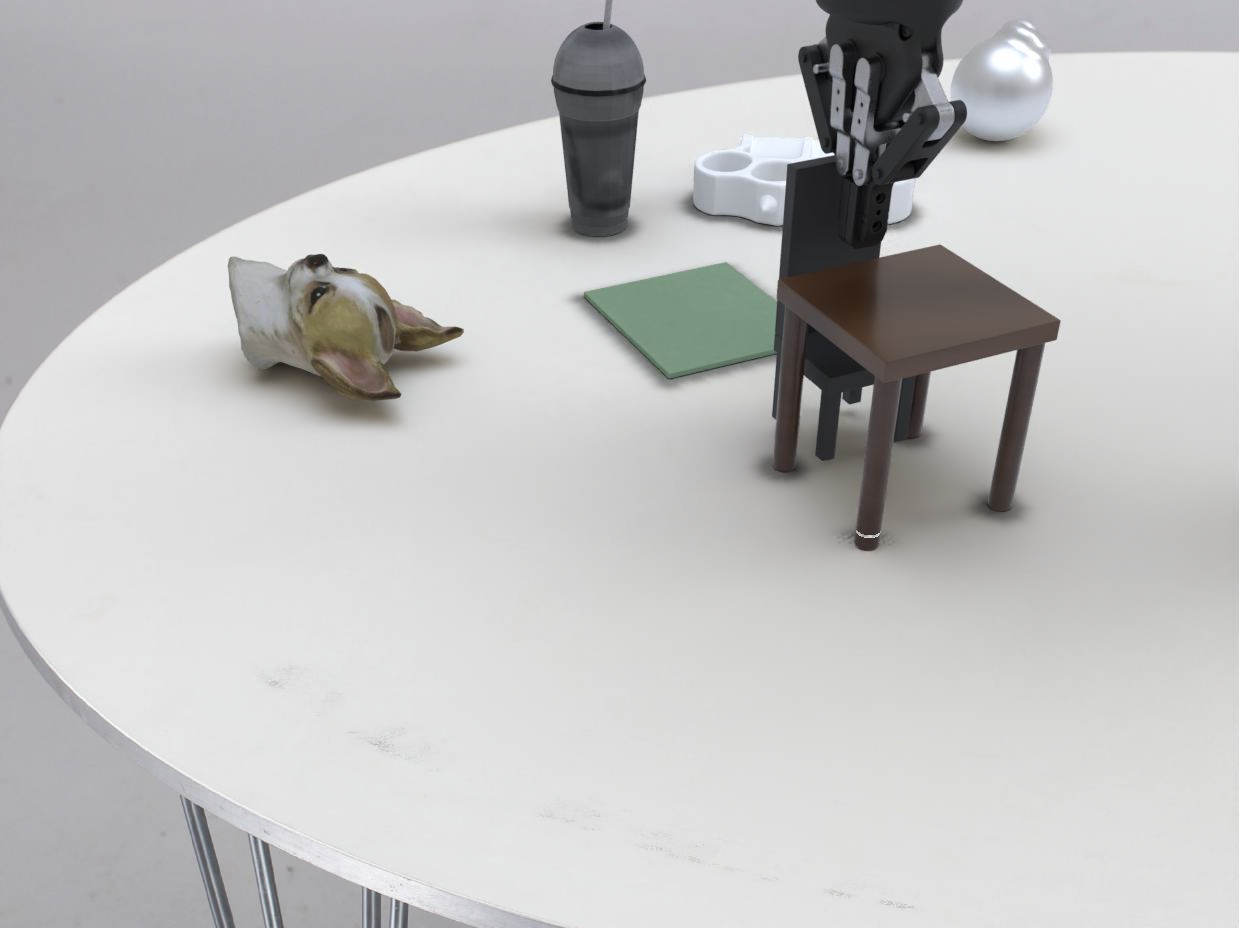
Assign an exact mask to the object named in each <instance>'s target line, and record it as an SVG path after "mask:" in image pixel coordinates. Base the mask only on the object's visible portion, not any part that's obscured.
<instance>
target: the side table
mask: <svg viewBox="0 0 1239 928" xmlns="http://www.w3.org/2000/svg"><path fill="white" fill-rule="evenodd" d="M776 287H777V288H776V300H777V299H778V300H779V301H780V302H781V303H783V304H784V305H785V313H784V325H783V338H782V351H781V364H780V377H779V389H778V402H777V415H776V420H775V429H774V440H773V441H774V443H773V452H772V453H773V456H772V468H774V470H776V471H779V472H783V473H784V472H785V473H786V472H791V471H793V470H795V469H796V467H797V466H796V465H797V456H798V455H797V454H798V444H799V443H798V442H799V433H800V421H801V409H802V398H803V387H804V377H805V376H804V367H805V356H806V345H807V334H808V324H809V325H811V326H812V327H813V328H814V329H816V330H817V331H818V332H820V333H821V334H822V335H823V336H825V337H826V338H827V339H828V340H830V341H831V342H832V343H834V344H835V345H836V346H837V347H839V348H840V349H841V350H842V351H844V352H845V353H846V354H848V355H849V356H850V357H851V358H853V359H854V360H855V361H856V362H858V363H859V364H860V365H862V366H863V367H864V368H865V369H867V370H868V371H869V372H871V373H872V374H873V375H874V376H875V379H874V385H873V386H872V387H873V388H872V396H871V404H870V410H869V419H868V428H867V435H866V436H867V437H866V445H865V452H864V459H863V466H862V467H863V468H862V476H861V484H860V491H859V499H858V507H857V515H856V523H855V531H854V539H853V543H854V545H855V547H857V548H858V549H860V550H863V551H873V550H875V549H878V547H880V540H881V533H882V527H883V526H882V525H883V519H884V512H885V504H886V498H887V490H888V482H889V476H890V470H891V469H890V467H891V461H892V454H893V446H894V441H893V440H894V433H895V426H896V418H897V411H898V404H899V397H900V389H901V382H902V379H903V378H907V377H911V376H915V375H916V379H915V386H914V393H913V400H912V407H911V414H910V421H909V427H908V434H907V438H908V439H915V438H918V437H921V435H922V434H923V433H922V432H923V427H924V420H925V413H926V406H927V400H928V394H929V387H930V381H931V374H932V372H934V371H938V370H943V369H947V368H950V367H951V368H952V367H955V366H959V365H962V364H967V363H970V362H975V361H978V360H983V359H987V358H991V357H995V356H1000V355H1002V354H1007V353H1010V352H1015V357H1014V358H1015V359H1014V363H1013V369H1012V373H1011V379H1010V384H1009V389H1008V394H1007V399H1006V405H1005V411H1004V415H1003V419H1002V420H1003V421H1002V424H1001V425H1002V426H1001V432H1000V437H999V441H998V446H997V451H996V457H995V463H994V468H993V473H992V478H991V483H990V489H989V494H988V499H987V505H988V507H989V508H990V509H992V510H994V511H998V512H1005V511H1009V510H1010V509H1012V508H1013V503H1014V500H1015V499H1014V498H1015V493H1016V489H1017V483H1018V479H1019V473H1020V470H1021V465H1022V460H1023V454H1024V450H1025V445H1026V440H1027V436H1028V430H1029V425H1030V420H1031V416H1032V411H1033V406H1034V401H1035V397H1036V391H1037V387H1038V381H1039V376H1040V373H1041V366H1042V362H1043V358H1044V352H1045V349H1046V348H1045V347H1046V343H1051V342H1055V341H1057V340H1058V335H1059V331H1060V327H1061V319H1059V318H1058V317H1056V316H1055V315H1053V314H1051V313H1050V312H1049V311H1047V310H1045V309H1044V308H1043V307H1041V306H1039V305H1038V304H1036V303H1034V302H1032V301H1031V300H1029V299H1028V298H1027V297H1025V296H1023V295H1021V294H1020V293H1018V292H1016V291H1015V290H1014V289H1012V288H1011V287H1009V286H1007V285H1006V284H1004V283H1002V282H1001V281H999V280H998V279H996V278H994V277H993V276H992V275H990V274H988V273H987V272H985V271H984V270H982V269H980V268H979V267H977V266H975V265H974V264H972V263H971V262H969V261H967V260H966V259H964V258H963V257H961V256H960V255H958V254H957V253H955V252H953V250H950V249H948V248H947V247H946V246H944V245H942V244H939V243H938V244H935V245H930V246H927V247H922V248H917V249H912V250H907V251H902V252H899V253H894V254H889V255H885V256H880V257H879V258H875V259H870V260H866V261H861V262H857V263H852V264H848V265H843V266H838V267H834V268H829V269H825V270H820V271H815V272H811V273H806V274H802V275H797V276H792V277H788V278H783V279H779V278H778V280H777V286H776ZM856 530H857V531H858V532H860V533H861V534H864V535H876V534H878V533H880V531H881V533H880V535H879V536H878V537H875V538H864V537H861V536H859V535H858V534H857V533H856Z"/></svg>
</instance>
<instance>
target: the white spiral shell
mask: <svg viewBox="0 0 1239 928" xmlns="http://www.w3.org/2000/svg"><path fill="white" fill-rule="evenodd" d="M1051 54H1052V44H1051V42H1050V41H1049V40H1048V38H1046V37H1045V36H1044V34H1043V33H1042V32H1041V30H1040V29H1039V27H1038V26H1037V25H1036V24H1034V23H1033V22H1032V20H1031V19H1028V18H1017V19H1012V20H1009V21H1006V22H1005V23H1004V24H1002V25H1001V26H1000V28H998V29H997V31H995V33H994V34H993V36H992V37H989V38H987V39H984V40H982V41H981V42H979V43H978V44H976V45H974V46H973V47H972V48H971V49H969V50H968V51H967V52H966V53H965V54H964V56H963V57H962V58H961V59H960V61H959V63H958V64H957V66H956V69H955V70H954V73H953V76H952V79H951V81H950V82H951V83H950V91H949V93H950V95H949V96H950V101H956V100H962V101H963V102H964V103H965V105H966V108H967V118H966V121H965V122H964V124H963V125H962V126H961V127H962V128H963V129H964V130H965V131H967V132H968V133H969V134H971V135H972V136H974V137H976V138H978V139H981V140H983V141H988V142H1005V141H1010V140H1013V139H1015V138H1016V139H1017V138H1018V137H1020V136H1022V135H1024V134H1026V133H1027V132H1029V131H1030V130H1031V129H1032V128H1033V127H1035V126H1036V125H1037V124H1038V123H1039V121H1040V120H1041V119H1042V118H1043V116H1044V115H1045V113H1046V111H1047V110H1048V107H1049V105H1050V102H1051V99H1052V95H1053V91H1054V76H1053V70H1052V68H1051V65H1050V61H1049V59H1050V56H1051Z"/></svg>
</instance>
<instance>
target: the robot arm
mask: <svg viewBox="0 0 1239 928" xmlns="http://www.w3.org/2000/svg"><path fill="white" fill-rule="evenodd" d="M963 2H964V0H815V3H816V4H817V6H818V7H819V8H820V9H821V10H822V11H823V12H825V13H826V14H828V15H829V16H828V18H827V21H826V24H825V31H824V32H825V36H824V38H822V39H821V40H820V41H819V42H818V43H814V44H812V45H811V44H810V45H805V46H801V47H800V48H799V50H798V54H797V59H798V66H799V69H800V72H801V75H802V81H803V84H804V88H805V91H806V95H807V100H808V102H809V107H810V111H811V115H812V118H813V123H814V126H815V131H816V135H817V140H819V142H820V146H821V149H822V151H823V152H824V153H825V154H828V153H834V155H835V156H836V168H837V171H838V173H839V174H840V175H842V185H841V194H840V199H841V200H840V204H839V206H840V208H839V213H838V220H839V225H838V237H839V238H840V239H841V240H843V241H844V242H846V243H847V244H848V245H850V246H851V247H853V248H854V249H860V248H864V247H869V246H874V245H878V244H879V243H881V244H882V242H883V240H884V238H885V236H886V234H887V232H888V225H889V224H888V221H887V220H888V218H889V214H888V213H889V210H890V202H891V194H892V187H893V185H894V183H895V182H899V181H904V180H909V179H914V178H916V179H919V178H921V176H922V175H923V174H924V173H925V171H926V170H927V169H928V168H929V166H930V165H932V162H934V160H935V159H936V158H937V157H938V155H940V153H941V152H942V151H943V149H944V148H945V147H946V146H947V145H948V143H949V142H950V141H951V140H952V139H953V137H954V136H955V135H956V134H957V132H958V131H959V130H960V129H961V128H962V127H963V126H962V125H963V124H964V122H965V121H966V118H967V108H966V105H965V103H964V102H963V101H962V100H956V101H951V100H950V101H949V100H948V97H947V95H946V93H945V91H944V88H943V86H942V84H941V81H940V79H939V78H940V76H941V74H942V71H943V68H944V62H945V61H944V51H943V43H942V31H943V28H944V25H945V24H946V23H947V22H948V20H949V19H950V18H951V17H952V16H953V15H954V14H955V13H956V12H958V11H959V10H960V8H961V7H962V5H963Z"/></svg>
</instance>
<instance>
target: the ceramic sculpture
mask: <svg viewBox="0 0 1239 928" xmlns="http://www.w3.org/2000/svg"><path fill="white" fill-rule="evenodd" d="M227 272H228V288H229V291H230V298H231V302H232V307H233V311H234V315H235V318H236V321H237V332H238V335H239V339H240V350H241V351H242V354H243V356H244V358H245V359H246V360H247V361H248V362H249V363H250V364H251V365H252V366H253V367H255V368H257V369H260V370H267V369H271V368H272V367H273V366H275V365H276V364H278V363H283V364H286V365H288V366H292V367H295V368H298V369H302V370H304V371H306V372H308V373H311V374H313V375H315V376H318V377H321V378H323V380H324V381H325V382H326V383H327V384H328V385H329V386H330V387H331V388H333V390H335V391H336V392H337V393H339V394H340V395H342V396H344V397H345V398H347V399H349V400H352V401H359V402H360V401H361V402H363V401H364V402H380V401H388V400H390V401H391V400H397V399H400V398H401V397H402V393H401V391H399V389H398V388H396V386H395V384H394V381H393V379H392V378H391V376H390V373H389V370H388V369H387V367H386V365H385V364H386V363H387V362H388V361H389V359H390V358H391V356H392V355H393V351H394V350H397V351H400V352H421V351H425V350H429V349H432V348H435V347H438V346H441V345H443V344H446V343H448V342H451V341H453V340H455V339H458V338H460V337H462V335H463V334H464V333H465V329H464V328H462V327H459V326H442V325H440V324H439V323H438V322H436V321H435V320H434V319H432V318H430V317H429V316H428V317H426V316H424V315H423V313H422V312H421V311H420V310H418V309H416V308H415V307H413V306H410V305H406V304H402V303H401V302H399V301H398V300H396V299H392V298H391V296H390V295H389V293H388V292H387V290H386V288H385V287H384V286H383V285H382V284H381V283H380V282H379V280H377V279H376V278H374V277H373V276H372V275H370V274H367V273H364V272H363V273H362V272H359V271H358V270H357V269H355V268H351V267H350V268H349V267H348V268H347V267H334V266H333V264H332V262H331V261H330V259H329V258H328V257H327V255H326V254H323V253H317V254H307V255H306V256H305V257H304V258H299V259H297V260H294V262H293V263H292V264H291V265H290V266H289V267H288V268H287V269H284V268H282V267H279V266H278V265H275V264H273V263H270V262H268V261H258V260H251V259H243V258H242V257H239V256H230V257H229V258H228V262H227Z"/></svg>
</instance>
